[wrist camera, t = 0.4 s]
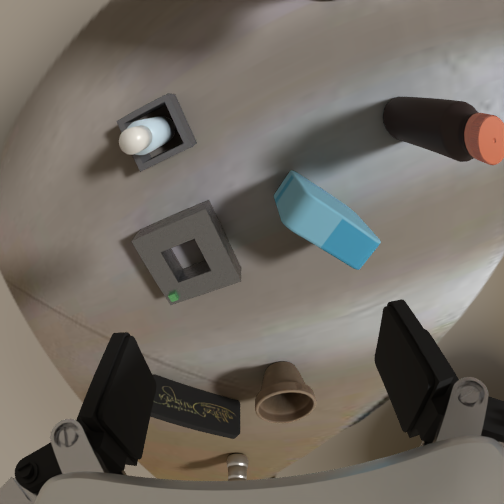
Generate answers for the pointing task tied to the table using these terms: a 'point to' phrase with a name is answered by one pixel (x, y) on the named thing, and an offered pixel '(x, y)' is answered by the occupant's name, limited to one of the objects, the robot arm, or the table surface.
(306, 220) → the data package
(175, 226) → the port
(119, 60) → the table surface
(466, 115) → the vinegar
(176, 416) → the nameplate
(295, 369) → the flower pot
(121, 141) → the plug
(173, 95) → the grey open box
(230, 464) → the plastic bottle
